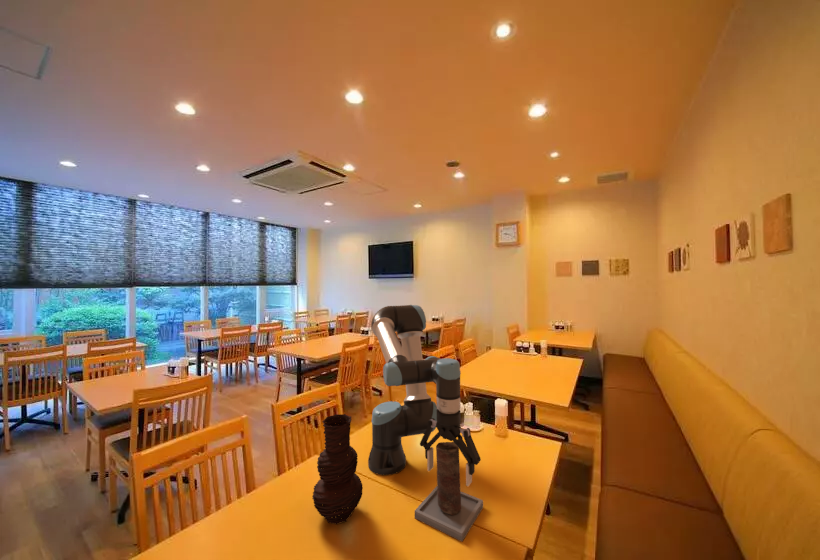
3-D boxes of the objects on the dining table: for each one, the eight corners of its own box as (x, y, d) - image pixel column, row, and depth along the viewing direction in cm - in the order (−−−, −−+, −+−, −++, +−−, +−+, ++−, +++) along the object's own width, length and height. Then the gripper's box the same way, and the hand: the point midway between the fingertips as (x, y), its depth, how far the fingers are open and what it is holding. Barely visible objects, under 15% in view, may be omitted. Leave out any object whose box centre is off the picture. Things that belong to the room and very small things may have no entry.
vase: (321, 497, 108) (320, 409, 108) (366, 498, 107) (365, 409, 107) (305, 534, 92) (303, 431, 92) (357, 534, 92) (356, 431, 92)
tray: (414, 518, 98) (414, 510, 98) (439, 489, 111) (439, 482, 111) (462, 541, 89) (462, 533, 89) (483, 507, 102) (483, 500, 102)
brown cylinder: (434, 512, 98) (433, 448, 98) (440, 497, 105) (439, 436, 105) (458, 518, 95) (457, 452, 95) (463, 502, 102) (462, 441, 102)
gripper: (409, 404, 104) (409, 468, 104) (481, 423, 90) (482, 498, 90) (421, 397, 110) (421, 458, 110) (490, 414, 96) (491, 483, 96)
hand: (449, 476), depth 100 cm, fingers open, 13 cm apart
